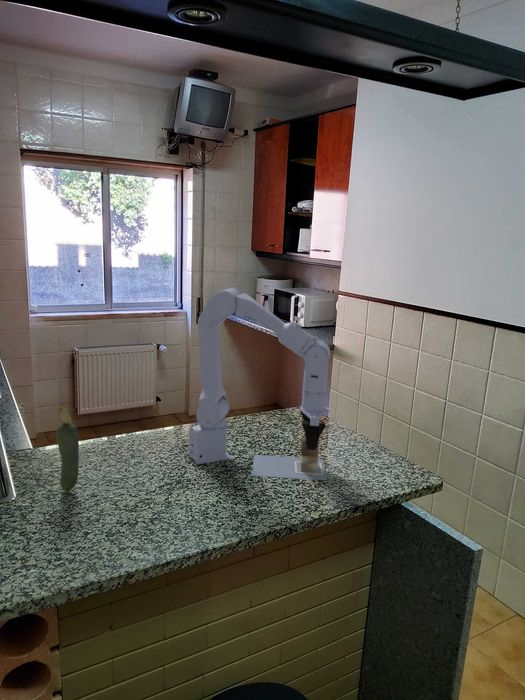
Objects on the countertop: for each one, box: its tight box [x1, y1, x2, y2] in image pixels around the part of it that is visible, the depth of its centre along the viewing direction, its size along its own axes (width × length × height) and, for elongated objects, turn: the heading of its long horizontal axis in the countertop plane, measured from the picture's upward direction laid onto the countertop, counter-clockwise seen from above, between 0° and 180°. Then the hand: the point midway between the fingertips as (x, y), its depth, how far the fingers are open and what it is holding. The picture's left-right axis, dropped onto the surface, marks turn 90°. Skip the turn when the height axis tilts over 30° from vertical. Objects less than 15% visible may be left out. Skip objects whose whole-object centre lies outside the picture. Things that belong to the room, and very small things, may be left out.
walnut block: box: [300, 434, 320, 458], centre depth 126 cm, size 4×4×4 cm
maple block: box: [300, 455, 319, 472], centre depth 126 cm, size 4×4×4 cm
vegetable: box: [56, 406, 80, 494], centre depth 108 cm, size 4×4×20 cm
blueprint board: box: [251, 454, 327, 481], centre depth 127 cm, size 18×12×1 cm, turn 88°
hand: (310, 442), depth 125 cm, fingers open, 7 cm apart
